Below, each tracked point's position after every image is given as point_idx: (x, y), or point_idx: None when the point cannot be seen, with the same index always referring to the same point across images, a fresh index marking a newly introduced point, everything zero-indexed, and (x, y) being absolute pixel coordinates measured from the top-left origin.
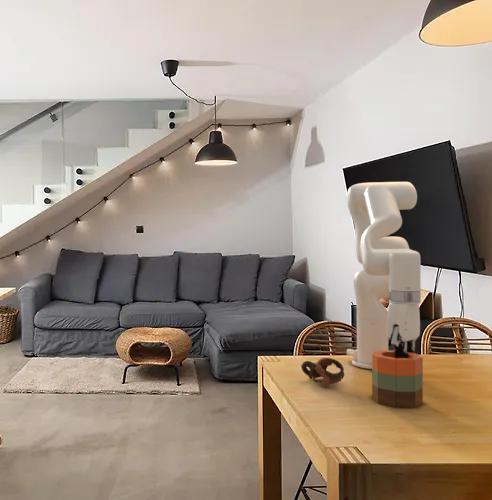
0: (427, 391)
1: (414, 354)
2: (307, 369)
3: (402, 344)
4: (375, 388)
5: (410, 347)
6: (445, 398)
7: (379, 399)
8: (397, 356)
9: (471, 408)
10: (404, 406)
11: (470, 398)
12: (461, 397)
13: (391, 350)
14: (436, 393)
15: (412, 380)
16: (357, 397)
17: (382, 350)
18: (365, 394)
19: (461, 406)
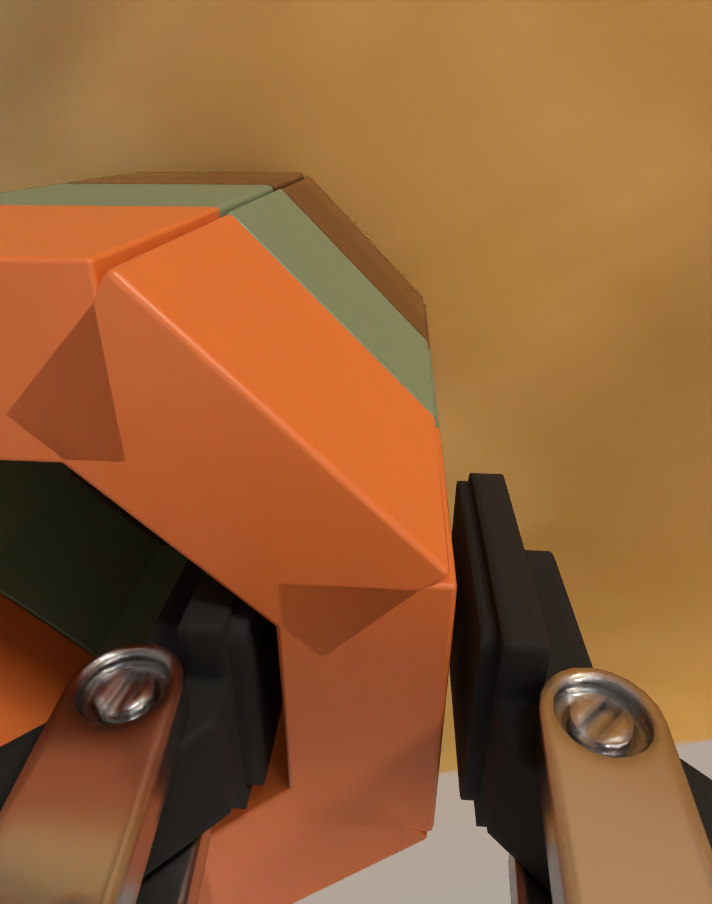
0: (706, 443)
1: (304, 851)
2: None
3: (546, 788)
4: None
5: (518, 861)
6: (573, 585)
7: None
8: (161, 624)
9: (447, 722)
10: None
11: (679, 682)
12: (670, 644)
13: (324, 492)
14: (681, 509)
15: None
16: (23, 43)
17: (131, 323)
18: (185, 49)
19: (448, 684)
